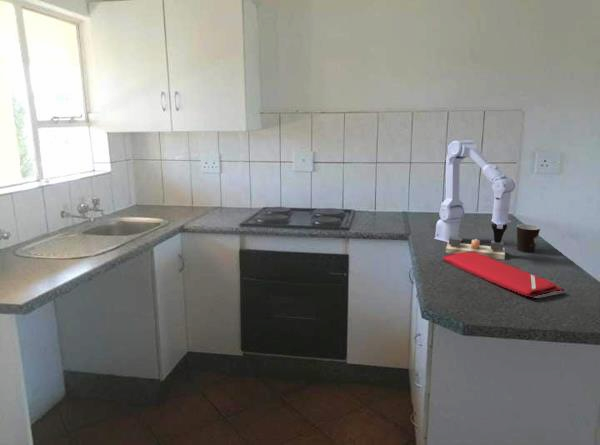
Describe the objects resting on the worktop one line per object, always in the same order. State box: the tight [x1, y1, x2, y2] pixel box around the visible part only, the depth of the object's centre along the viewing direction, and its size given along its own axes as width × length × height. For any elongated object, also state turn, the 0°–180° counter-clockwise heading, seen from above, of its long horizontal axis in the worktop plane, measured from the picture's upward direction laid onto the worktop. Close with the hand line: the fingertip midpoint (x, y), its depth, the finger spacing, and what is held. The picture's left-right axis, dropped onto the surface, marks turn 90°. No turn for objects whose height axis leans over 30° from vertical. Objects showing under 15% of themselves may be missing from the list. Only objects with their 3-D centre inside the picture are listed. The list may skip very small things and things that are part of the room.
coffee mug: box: [516, 224, 541, 254], centre depth 193 cm, size 12×9×10 cm
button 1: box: [449, 236, 462, 246], centre depth 192 cm, size 4×4×2 cm
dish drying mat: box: [442, 252, 565, 298], centre depth 164 cm, size 16×41×4 cm, turn 21°
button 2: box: [490, 239, 504, 250], centre depth 186 cm, size 4×4×2 cm
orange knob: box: [470, 238, 481, 249], centre depth 189 cm, size 3×3×3 cm
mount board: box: [445, 242, 506, 260], centre depth 190 cm, size 22×10×3 cm, turn 68°
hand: (497, 242), depth 186 cm, fingers closed, pressing on button 2
